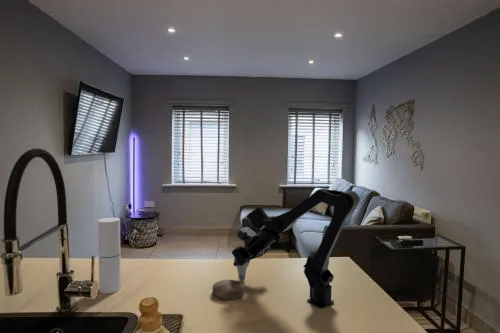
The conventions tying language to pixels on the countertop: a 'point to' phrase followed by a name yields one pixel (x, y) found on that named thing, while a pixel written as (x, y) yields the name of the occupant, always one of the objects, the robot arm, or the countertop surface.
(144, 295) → the countertop surface
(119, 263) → the cylindrical container
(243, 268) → the lightbulb
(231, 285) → the walnut base
